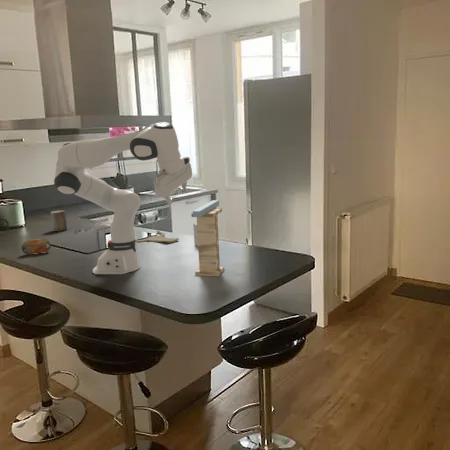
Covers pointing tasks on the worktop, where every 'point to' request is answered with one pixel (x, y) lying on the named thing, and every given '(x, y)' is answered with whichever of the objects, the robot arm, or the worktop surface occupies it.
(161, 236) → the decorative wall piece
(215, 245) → the stand
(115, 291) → the worktop surface
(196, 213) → the frame bar
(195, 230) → the supplement box
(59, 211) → the pillar candle
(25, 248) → the tin
